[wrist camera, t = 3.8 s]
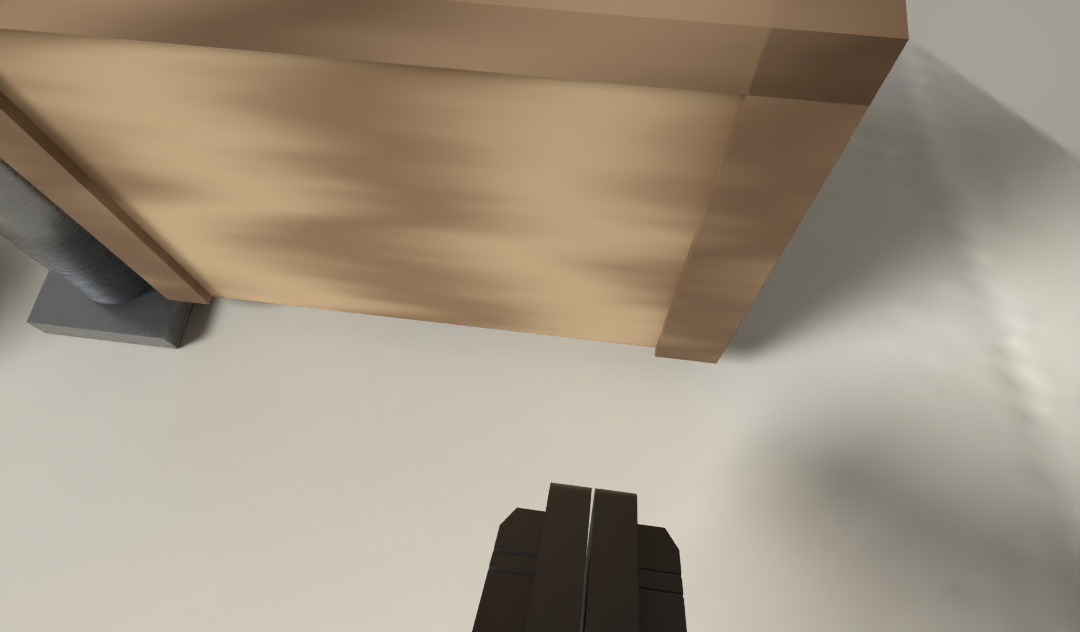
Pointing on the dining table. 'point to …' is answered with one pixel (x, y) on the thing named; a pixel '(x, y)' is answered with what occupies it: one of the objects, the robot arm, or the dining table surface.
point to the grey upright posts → (83, 275)
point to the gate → (448, 149)
